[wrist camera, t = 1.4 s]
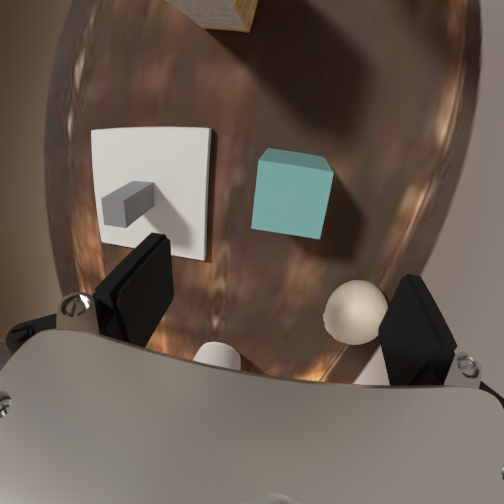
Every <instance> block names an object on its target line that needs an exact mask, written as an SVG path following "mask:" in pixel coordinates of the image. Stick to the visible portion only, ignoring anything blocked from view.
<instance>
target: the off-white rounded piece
mask: <svg viewBox="0 0 504 504" xmlns="http://www.w3.org/2000/svg"><path fill="white" fill-rule="evenodd" d="M387 309H388V305H387V302H386V299H385V297H384V295H383V294H382V292H381V291H380V290H379V289H378V288H377V287H376V286H375V285H373V284H372V283H370V282H368V281H363V280H352V281H349V282H346V283H344V284H342V285H341V286H340V287H338V288H337V289H336V290H335V291H334V292H333V293H332V295H331V296H330V298H329V300H328V302H327V305H326V308H325V312H324V314H323V320H324V322H325V328H326V330H327V332H328V333H330V334H331V335H332V336H333V337H334V338H335V339H336V340H338V341H340V342H344V343H346V344H350V345H358V344H364V343H367V342H369V341H371V340H373V339H374V338H376V337H377V336H378V328H379V325H380V323H381V321H382V319H383V317H384V315H385V313H386V311H387Z"/></svg>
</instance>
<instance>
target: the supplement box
mask: <svg viewBox="0 0 504 504" xmlns="http://www.w3.org/2000/svg"><path fill="white" fill-rule="evenodd" d="M166 1H167V2H169V3H170V4H172V5H173V6H174V7H176V8H177V9H178V10H180V11H181V12H182V13H184V14H185V15H186V16H188V17H189V18H190V19H192V20H193V21H194V22H196V23H197V24H198V25H200V26H201V27H202V28H203V29H218V30H230V31H239V32H247V33H249V32H250V29H251V25H252V22H253V18H254V14H255V11H256V7H257V3H258V0H166Z"/></svg>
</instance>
